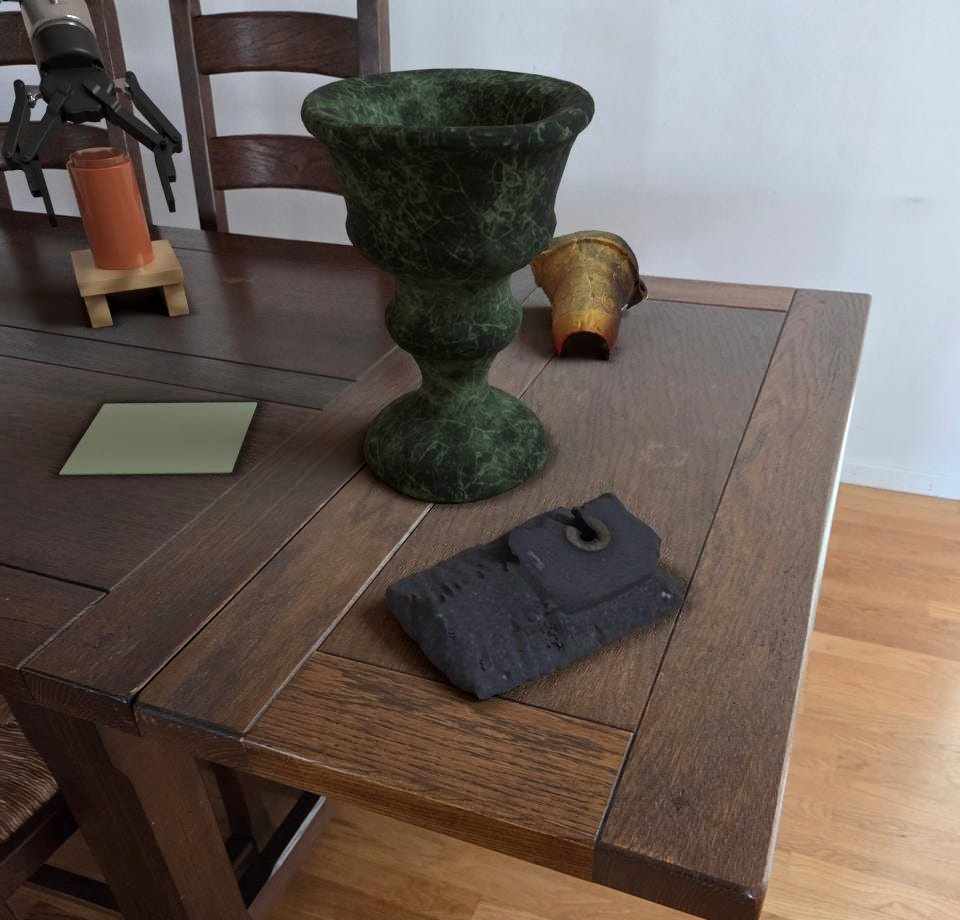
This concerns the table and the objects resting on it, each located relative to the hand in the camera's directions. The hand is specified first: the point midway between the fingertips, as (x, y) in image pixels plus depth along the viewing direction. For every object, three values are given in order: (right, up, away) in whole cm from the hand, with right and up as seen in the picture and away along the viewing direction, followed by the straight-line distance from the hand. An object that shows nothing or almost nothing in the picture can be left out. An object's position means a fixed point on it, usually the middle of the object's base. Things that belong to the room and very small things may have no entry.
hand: (113, 213), depth 105 cm
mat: (+12, -31, -17) cm, 37 cm away
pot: (+56, -12, +3) cm, 57 cm away
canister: (0, -4, +4) cm, 5 cm away
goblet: (+41, -32, -19) cm, 56 cm away
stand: (0, -8, +8) cm, 12 cm away
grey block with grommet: (+48, -48, -36) cm, 76 cm away
